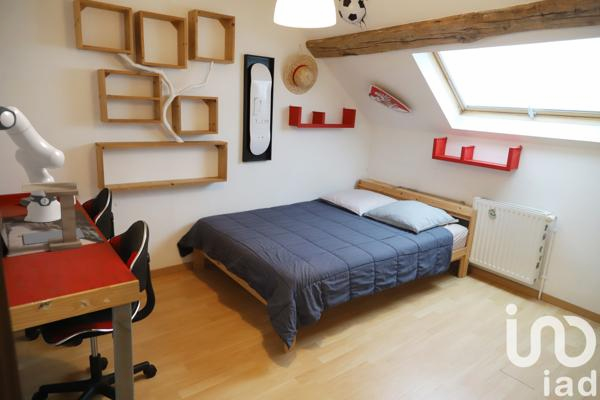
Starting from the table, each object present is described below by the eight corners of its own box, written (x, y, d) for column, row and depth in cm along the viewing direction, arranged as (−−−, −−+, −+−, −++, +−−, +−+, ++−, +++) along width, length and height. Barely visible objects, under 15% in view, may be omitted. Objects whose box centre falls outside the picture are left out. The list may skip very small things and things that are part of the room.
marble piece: (35, 209, 238) (34, 202, 238) (14, 207, 242) (13, 200, 241) (57, 203, 254) (57, 196, 253) (38, 201, 257) (37, 194, 257)
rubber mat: (23, 235, 195) (22, 234, 195) (79, 228, 209) (79, 227, 209) (24, 245, 183) (24, 244, 183) (84, 237, 197) (84, 237, 196)
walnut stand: (48, 243, 187) (43, 187, 181) (77, 239, 194) (74, 185, 188) (50, 251, 178) (46, 192, 172) (81, 247, 185) (78, 190, 179)
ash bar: (22, 190, 173) (21, 183, 172) (75, 187, 185) (75, 181, 184) (22, 192, 171) (22, 185, 170) (76, 188, 182) (76, 182, 182)
